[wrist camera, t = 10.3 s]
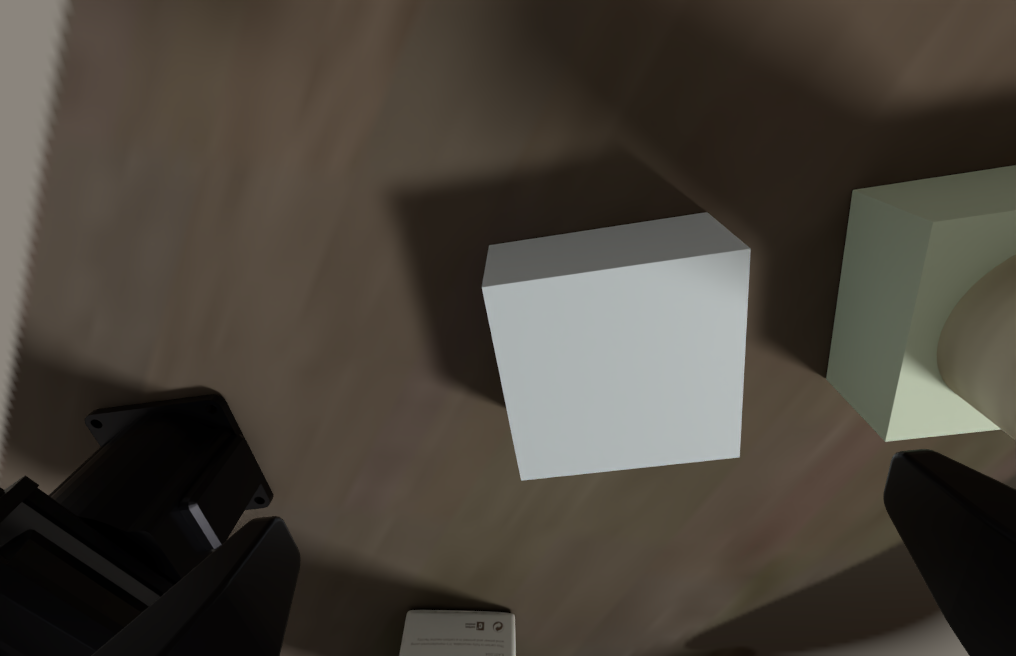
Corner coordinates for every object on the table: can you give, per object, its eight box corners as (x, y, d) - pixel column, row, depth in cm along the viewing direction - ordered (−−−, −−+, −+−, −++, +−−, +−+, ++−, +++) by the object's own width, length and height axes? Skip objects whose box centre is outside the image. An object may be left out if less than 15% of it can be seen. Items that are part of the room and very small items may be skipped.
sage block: (826, 379, 22) (885, 441, 18) (852, 189, 18) (933, 222, 15) (1031, 354, 21) (1134, 414, 17) (1102, 151, 17) (1251, 176, 14)
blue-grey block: (521, 415, 23) (521, 480, 20) (488, 245, 19) (481, 287, 16) (704, 393, 22) (739, 457, 19) (707, 212, 19) (750, 248, 15)
